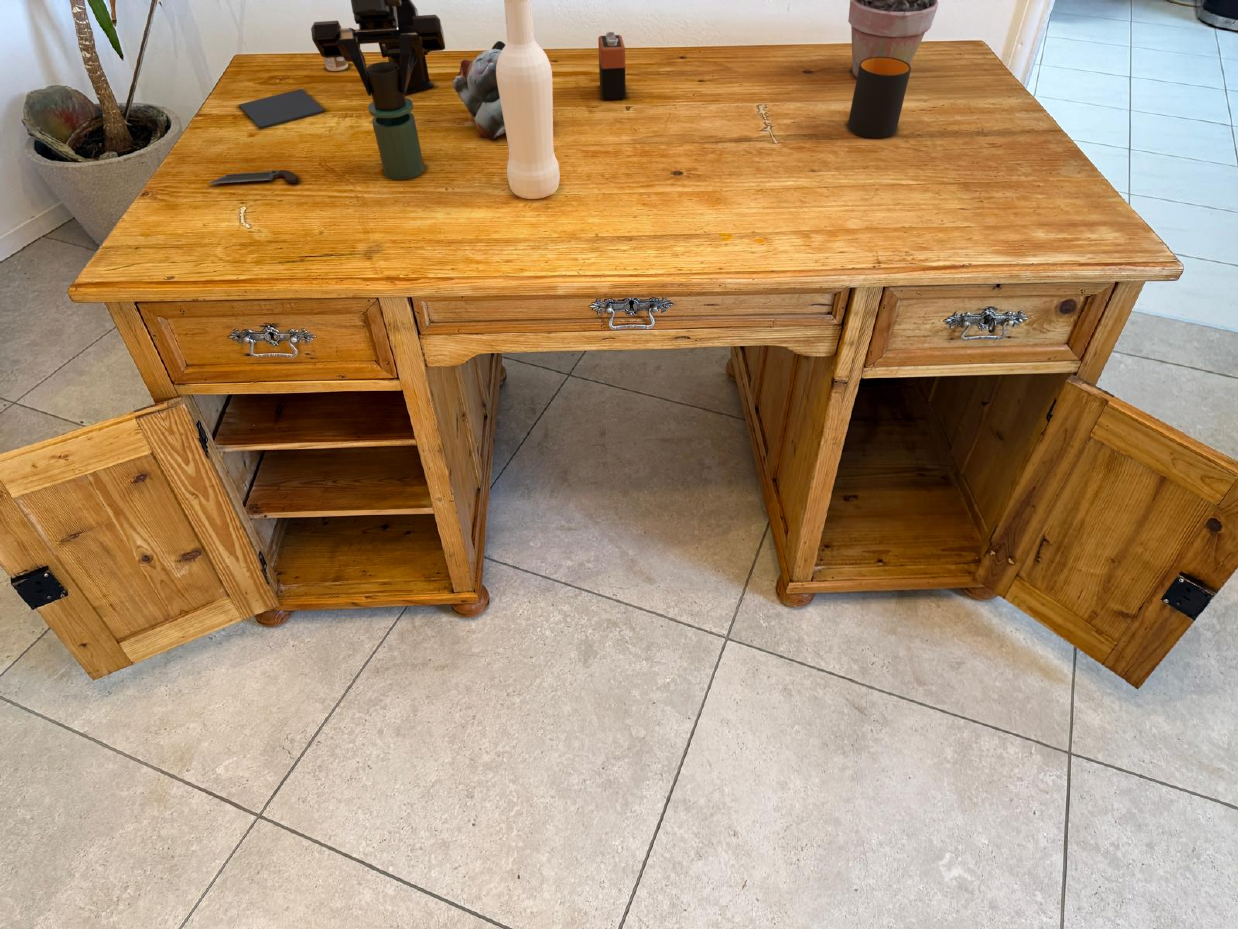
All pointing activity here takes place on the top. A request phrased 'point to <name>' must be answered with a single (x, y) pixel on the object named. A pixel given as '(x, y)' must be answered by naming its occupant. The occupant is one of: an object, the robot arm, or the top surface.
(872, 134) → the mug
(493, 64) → the lucky cat figurine
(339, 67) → the pill bottle
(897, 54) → the potted plant
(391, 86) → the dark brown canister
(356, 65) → the robot arm
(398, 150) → the can
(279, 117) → the mat
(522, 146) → the bottle
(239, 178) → the knife
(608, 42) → the battery
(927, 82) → the top surface
